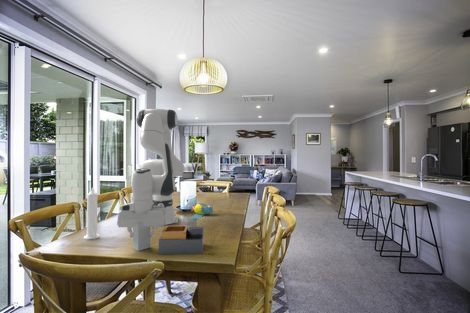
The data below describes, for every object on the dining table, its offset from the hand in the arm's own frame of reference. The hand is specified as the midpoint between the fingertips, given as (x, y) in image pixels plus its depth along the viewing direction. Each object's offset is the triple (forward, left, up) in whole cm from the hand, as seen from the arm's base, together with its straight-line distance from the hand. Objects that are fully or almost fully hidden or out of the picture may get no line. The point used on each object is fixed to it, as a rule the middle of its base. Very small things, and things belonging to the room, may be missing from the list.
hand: (141, 236), depth 113 cm
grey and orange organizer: (+2, +18, -5) cm, 19 cm away
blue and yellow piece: (-65, +23, -6) cm, 70 cm away
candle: (-17, -29, -5) cm, 34 cm away
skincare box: (0, 0, -5) cm, 5 cm away
